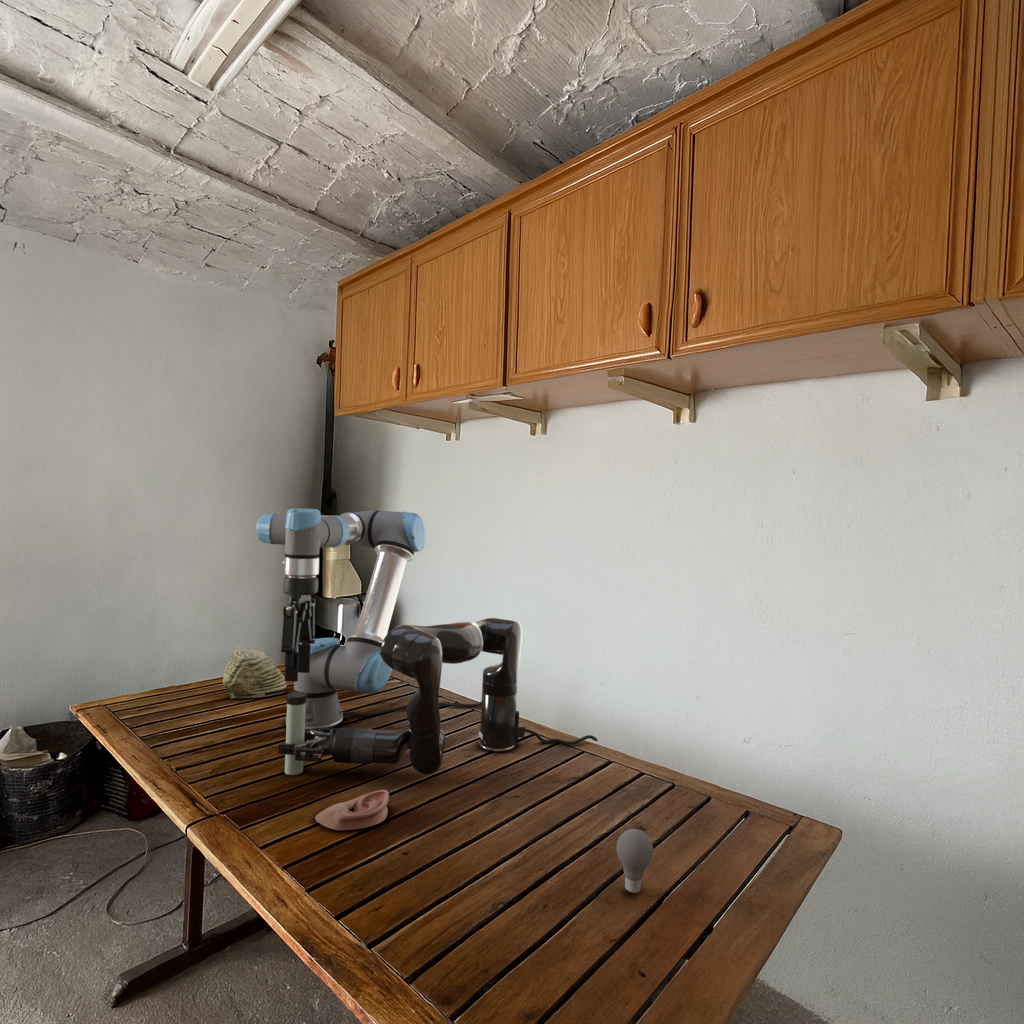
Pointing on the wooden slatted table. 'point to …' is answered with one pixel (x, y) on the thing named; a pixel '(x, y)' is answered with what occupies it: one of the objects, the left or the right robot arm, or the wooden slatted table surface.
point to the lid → (296, 698)
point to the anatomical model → (356, 812)
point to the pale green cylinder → (294, 736)
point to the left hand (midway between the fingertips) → (297, 676)
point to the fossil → (252, 674)
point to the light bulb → (634, 857)
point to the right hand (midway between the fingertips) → (285, 742)
